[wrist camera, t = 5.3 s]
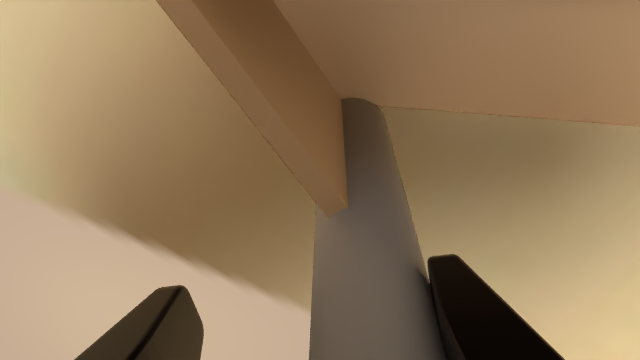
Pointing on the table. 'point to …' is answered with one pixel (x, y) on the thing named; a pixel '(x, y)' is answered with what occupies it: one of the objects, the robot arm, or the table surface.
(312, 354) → the flap
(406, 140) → the table surface
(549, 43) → the carton
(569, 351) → the table surface
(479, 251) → the table surface
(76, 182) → the table surface
